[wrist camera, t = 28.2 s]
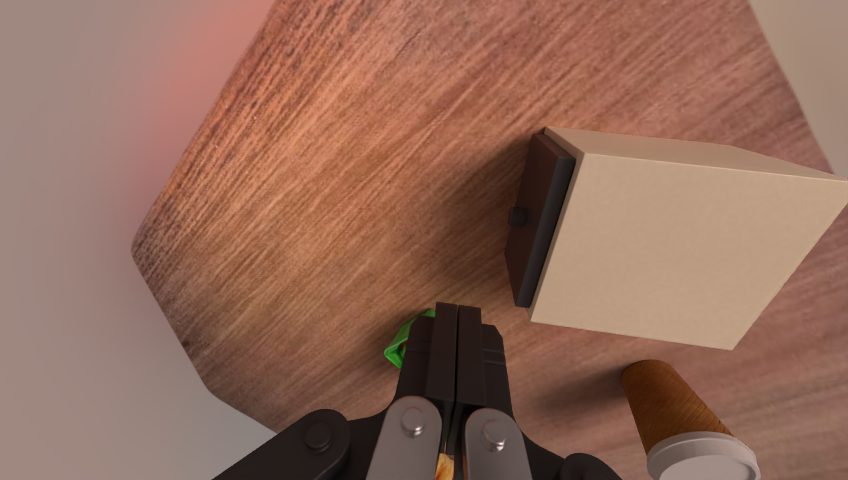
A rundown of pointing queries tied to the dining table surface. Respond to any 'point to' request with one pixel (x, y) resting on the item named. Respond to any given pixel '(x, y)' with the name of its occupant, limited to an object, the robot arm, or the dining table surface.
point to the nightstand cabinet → (677, 236)
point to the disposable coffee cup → (682, 429)
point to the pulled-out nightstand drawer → (536, 214)
